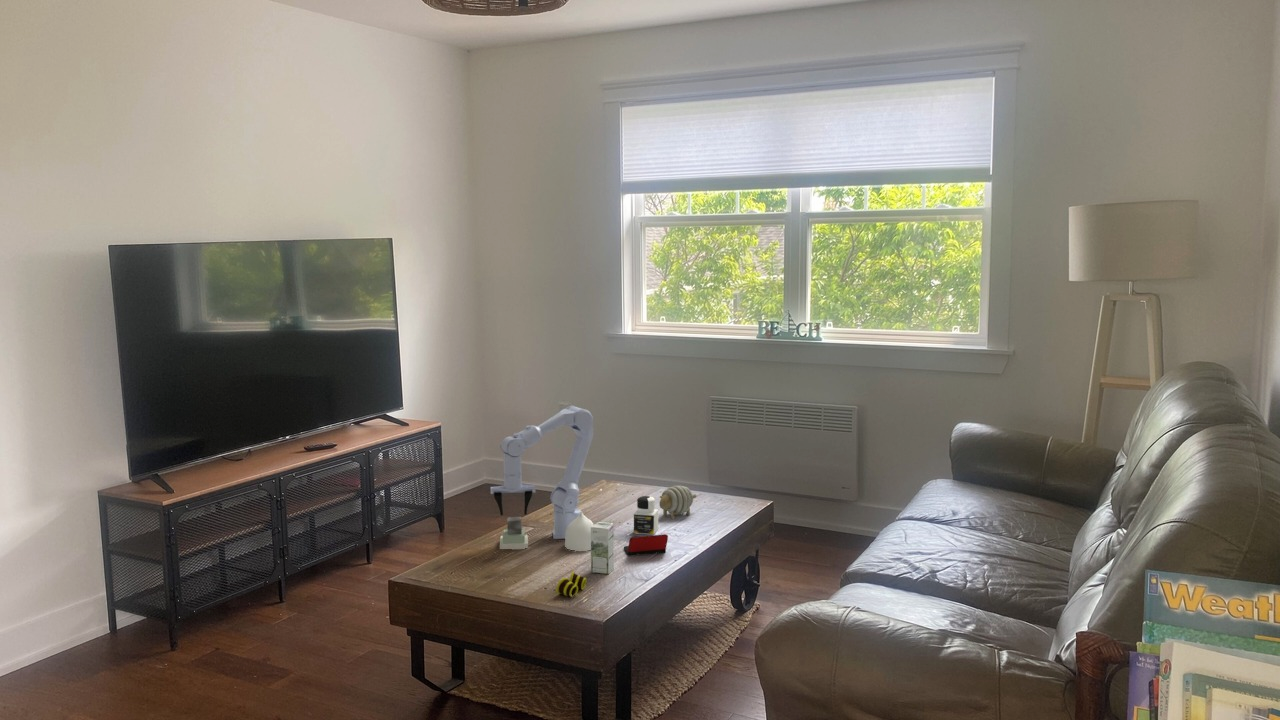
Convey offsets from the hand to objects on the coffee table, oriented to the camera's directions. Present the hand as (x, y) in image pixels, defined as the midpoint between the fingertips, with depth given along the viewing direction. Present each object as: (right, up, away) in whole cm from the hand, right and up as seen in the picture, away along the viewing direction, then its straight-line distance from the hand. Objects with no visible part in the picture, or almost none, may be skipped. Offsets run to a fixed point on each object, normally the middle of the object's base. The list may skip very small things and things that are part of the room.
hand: (513, 514), depth 293 cm
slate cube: (0, -6, +1) cm, 6 cm away
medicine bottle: (+44, -9, +15) cm, 47 cm away
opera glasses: (+22, -16, -40) cm, 48 cm away
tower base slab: (0, -11, +1) cm, 11 cm away
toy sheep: (+55, -7, +34) cm, 65 cm away
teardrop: (+22, -11, 0) cm, 25 cm away
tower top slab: (0, -9, +1) cm, 9 cm away
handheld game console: (+43, -12, -7) cm, 45 cm away
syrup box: (+30, -13, -23) cm, 40 cm away
